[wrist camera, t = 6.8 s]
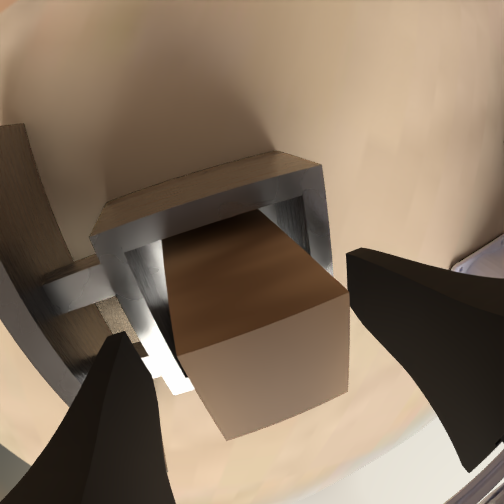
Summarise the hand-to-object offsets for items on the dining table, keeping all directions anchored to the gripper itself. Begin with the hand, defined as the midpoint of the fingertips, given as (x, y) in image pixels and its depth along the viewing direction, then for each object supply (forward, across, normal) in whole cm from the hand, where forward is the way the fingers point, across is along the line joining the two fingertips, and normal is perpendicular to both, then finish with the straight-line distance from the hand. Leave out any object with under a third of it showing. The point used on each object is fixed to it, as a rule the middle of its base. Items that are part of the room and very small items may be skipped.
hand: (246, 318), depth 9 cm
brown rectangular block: (+4, 0, 0) cm, 4 cm away
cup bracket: (+5, +2, 0) cm, 5 cm away
